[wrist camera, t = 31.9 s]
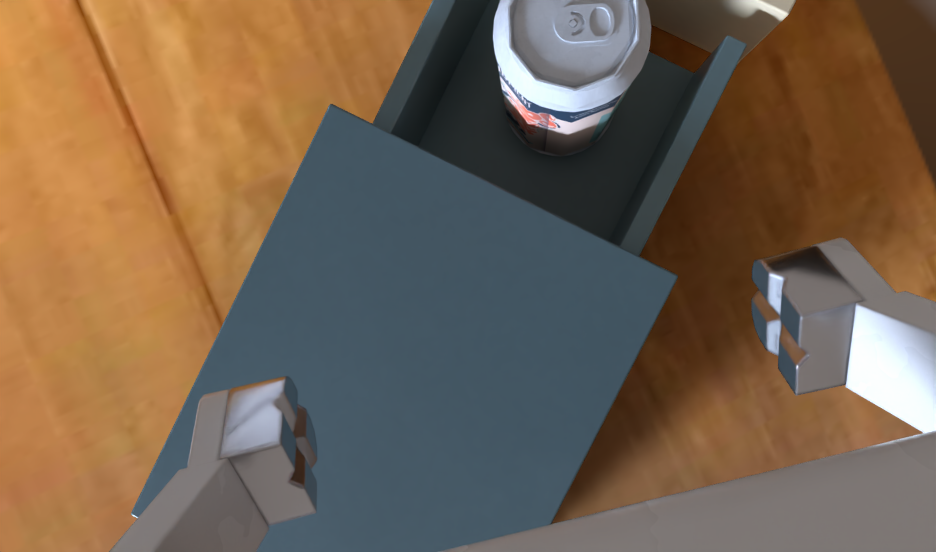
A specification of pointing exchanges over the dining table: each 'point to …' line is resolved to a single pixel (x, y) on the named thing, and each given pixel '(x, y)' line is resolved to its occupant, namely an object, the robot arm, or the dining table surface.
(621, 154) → the drawer
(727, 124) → the dining table surface
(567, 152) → the beer can
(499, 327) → the cabinet
